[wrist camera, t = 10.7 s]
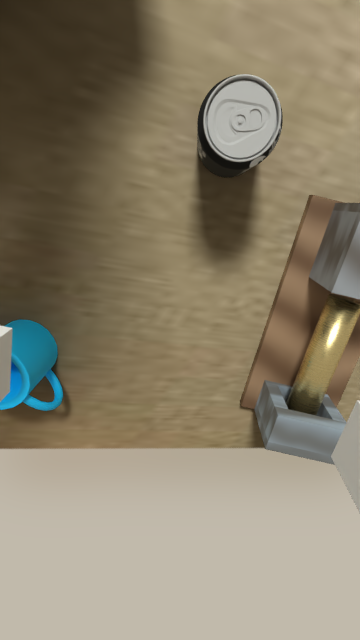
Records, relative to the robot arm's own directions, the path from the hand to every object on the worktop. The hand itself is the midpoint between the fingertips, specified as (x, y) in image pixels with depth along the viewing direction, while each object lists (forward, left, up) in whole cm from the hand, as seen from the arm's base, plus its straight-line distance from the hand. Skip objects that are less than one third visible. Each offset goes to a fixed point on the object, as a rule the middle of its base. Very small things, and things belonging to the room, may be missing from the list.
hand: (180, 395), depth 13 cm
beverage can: (-13, +1, -30) cm, 33 cm away
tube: (+7, +17, -27) cm, 33 cm away
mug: (+17, -17, -30) cm, 38 cm away
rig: (+2, +17, -30) cm, 34 cm away
